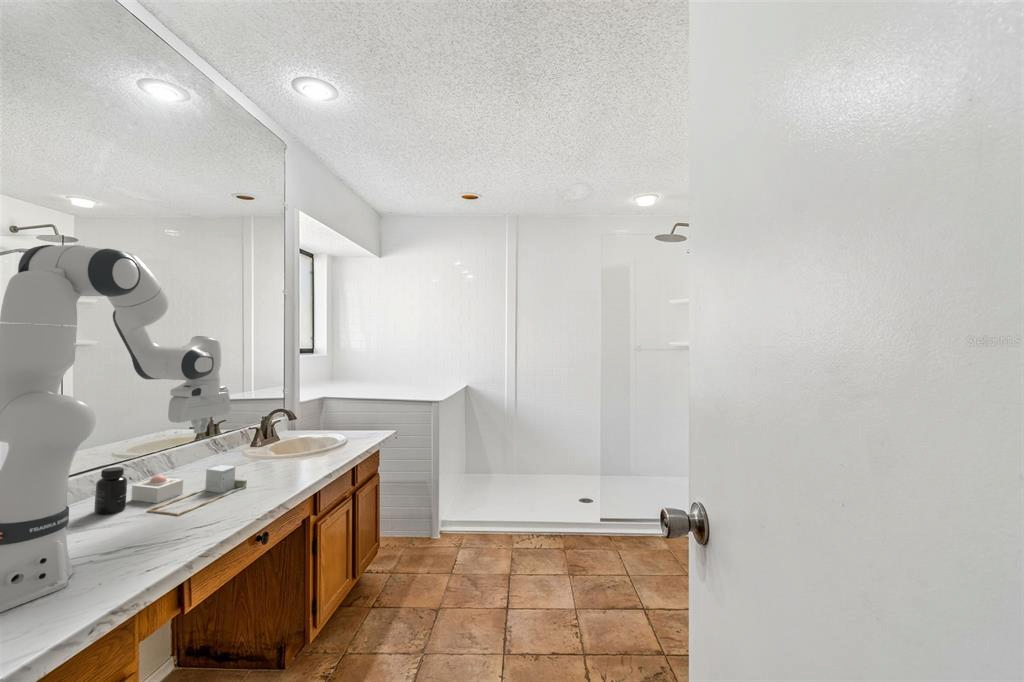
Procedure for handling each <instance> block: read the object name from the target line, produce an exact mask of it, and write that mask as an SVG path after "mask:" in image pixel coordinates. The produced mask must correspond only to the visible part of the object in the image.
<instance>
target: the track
mask: <svg viewBox="0 0 1024 682" xmlns="http://www.w3.org/2000/svg"><path fill="white" fill-rule="evenodd" d="M247 481H248V480H247V479H239V478H235V484H234V488H237V489H234V490H232V491H229V492H227V493H224V494H222V495H220V496H217V497H214V498H212V499H211V500H208V501H205V502H203V503H200V504H198V505H195V506H192V507H191V508H188V509H186V510H183V511H181V512H179V513H178V512H172V511H165V510H164V511H162V510H158V509H160V507H161V508H163V507H165V505H166V506H168V505H170V504H173V502H174V503H175V502H179V501H181V500H184V499H187V498H189V497H192V496H195V495H197V494H199V493H202V492H206V491H205V488H203V489H200V490H197V491H195V492H191V493H190V494H186V495H184V496H182V497H179V498H176V499H174V500H170V501H168V502H166V503H163V504H160V505H158V506H155V507H153V508H149V509H147V510H146V513H153V512H154V514H160V515H161V514H162V515H170V516H176V517H177V516H178V517H179V516H181V515H184V514H187V513H189V512H191V511H193V510H195V509H197V508H201V507H203V506H205V505H209V504H210V503H213V502H214V501H217V500H219V499H221V498H224V497H227V496H229V495H231V494H234V493H236V492H238V491H241V490H243V489H245V488H247V485H248V484H247Z"/></svg>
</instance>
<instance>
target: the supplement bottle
mask: <svg viewBox="0 0 1024 682" xmlns="http://www.w3.org/2000/svg"><path fill="white" fill-rule="evenodd" d="M124 473H125V469H124V467H119V466H116V467H107V468H103V469H102V470H101V475H100V479H99V480H97V482H96V484H95V494H94V508H93V509H94V514H96V515H111V514H112V513H113V514H116V512H117V513H121V512H122V511H124V510H125V509H126V506H127V493H128V479H127V477H125V476H124Z"/></svg>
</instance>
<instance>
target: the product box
mask: <svg viewBox="0 0 1024 682" xmlns="http://www.w3.org/2000/svg"><path fill="white" fill-rule="evenodd" d="M205 470H206V471H205V472H206V474H205V486H204V489H205V491H204V492H209V493H210V492H211V493H217V494H218V493H219V494H221V493H224V492H227V491H229V490H232V489H234V488H235V487H234V484H235V479H236V466H235V465H226V464H225V465H224V464H219V465H217V466H213V467H210V468H207V469H205Z"/></svg>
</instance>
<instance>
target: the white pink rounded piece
mask: <svg viewBox="0 0 1024 682" xmlns="http://www.w3.org/2000/svg"><path fill="white" fill-rule="evenodd" d="M166 478H167V477H166V476H165V475H162V474H157V475H155V476H153V477H152V478H150V479H149V480H150V481H148V480H147V481H148V482H147V485H148V486H157V487H158V486H161V485H164V484H167V483H169V481H170V480H169V479H166Z"/></svg>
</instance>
